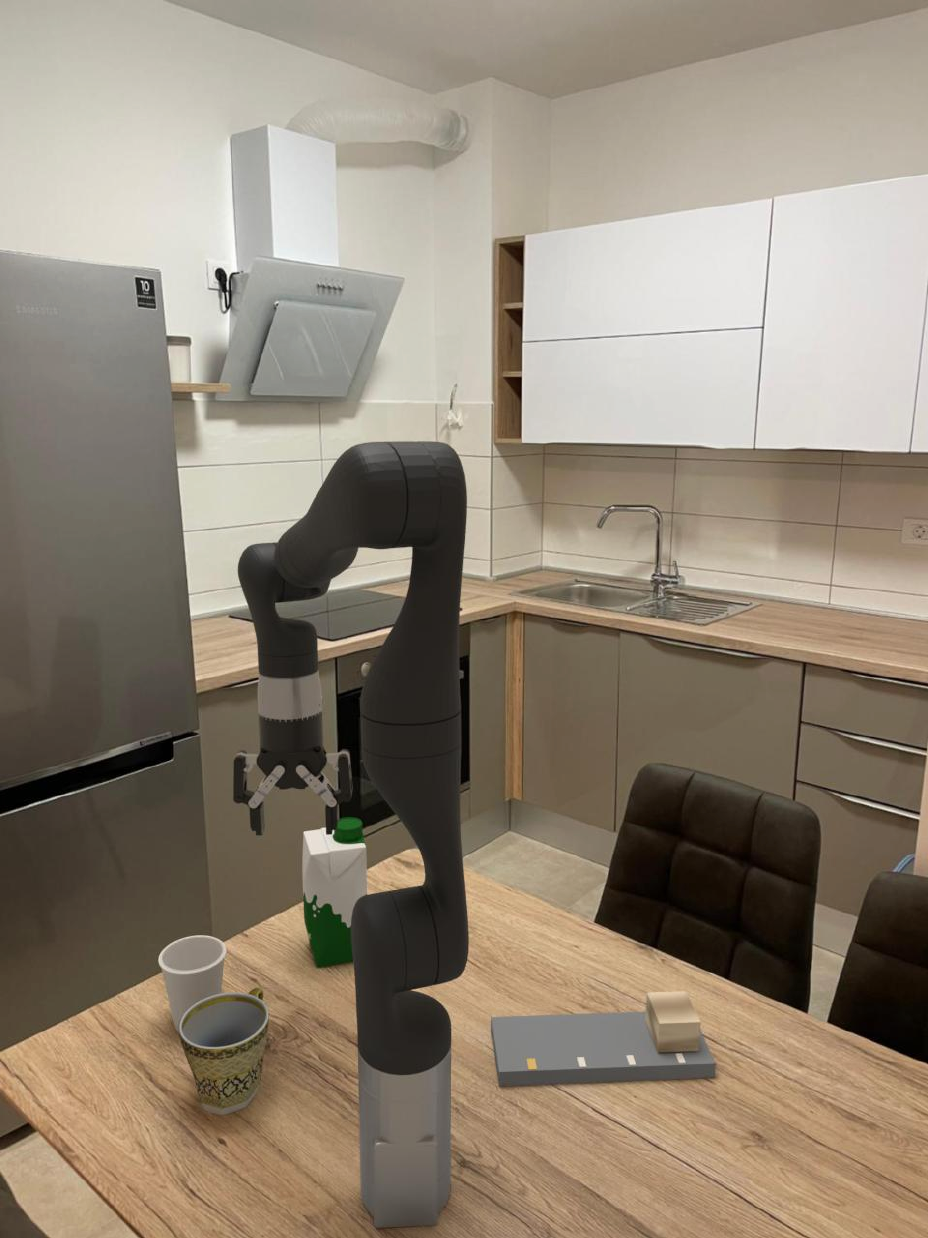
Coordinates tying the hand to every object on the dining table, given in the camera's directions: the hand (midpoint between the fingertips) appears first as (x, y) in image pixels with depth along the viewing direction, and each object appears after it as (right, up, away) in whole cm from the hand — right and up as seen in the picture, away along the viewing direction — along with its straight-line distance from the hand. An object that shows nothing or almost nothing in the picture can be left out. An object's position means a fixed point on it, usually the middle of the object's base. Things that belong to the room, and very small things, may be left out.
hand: (295, 832), depth 115 cm
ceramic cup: (-6, -29, -5) cm, 30 cm away
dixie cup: (-14, -26, +6) cm, 30 cm away
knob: (+47, -25, 0) cm, 53 cm away
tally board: (+38, -28, 0) cm, 47 cm away
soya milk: (+2, -23, +21) cm, 31 cm away
